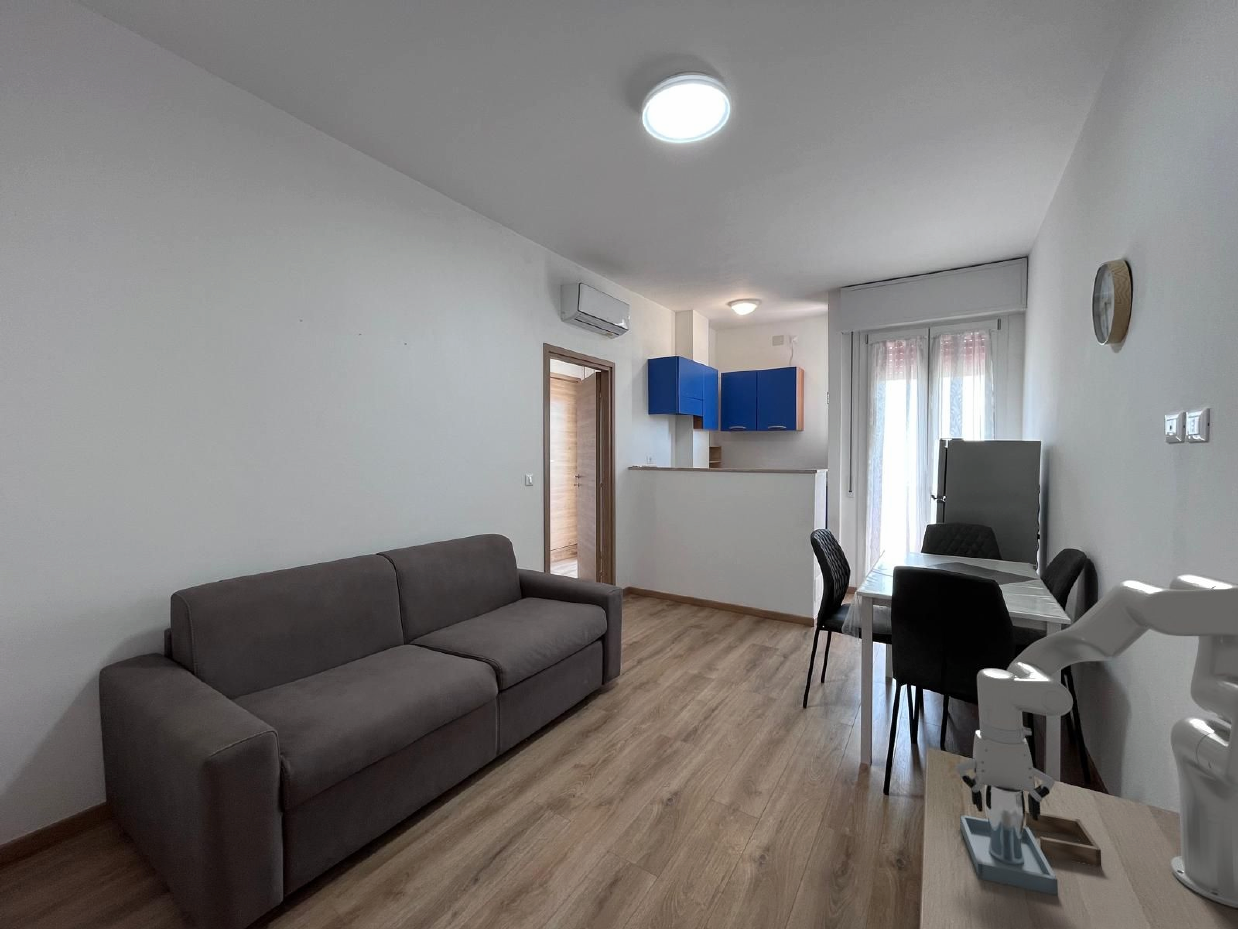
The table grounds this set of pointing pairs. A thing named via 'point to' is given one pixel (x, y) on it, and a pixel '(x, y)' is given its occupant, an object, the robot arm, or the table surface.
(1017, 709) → the robot arm
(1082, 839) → the walnut bay
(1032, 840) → the slate tray
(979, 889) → the table surface
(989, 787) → the silver metal cup
